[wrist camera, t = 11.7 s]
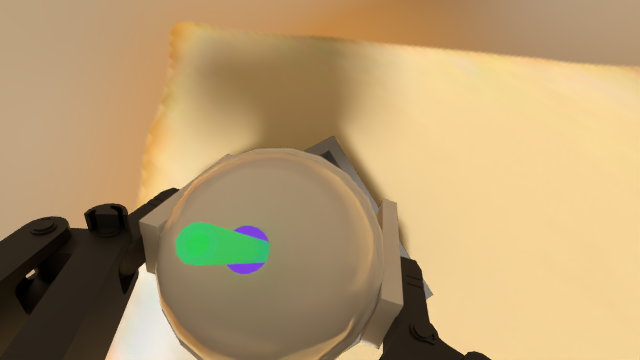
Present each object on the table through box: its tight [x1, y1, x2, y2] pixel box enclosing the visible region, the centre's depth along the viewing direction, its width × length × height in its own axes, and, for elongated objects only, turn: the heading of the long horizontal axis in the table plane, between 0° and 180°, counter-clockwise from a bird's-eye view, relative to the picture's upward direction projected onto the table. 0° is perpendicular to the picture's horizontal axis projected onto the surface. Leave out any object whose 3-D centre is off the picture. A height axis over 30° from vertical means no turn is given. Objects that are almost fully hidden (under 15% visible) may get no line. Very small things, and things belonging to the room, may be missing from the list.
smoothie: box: [155, 148, 385, 360], centre depth 14 cm, size 8×8×20 cm
